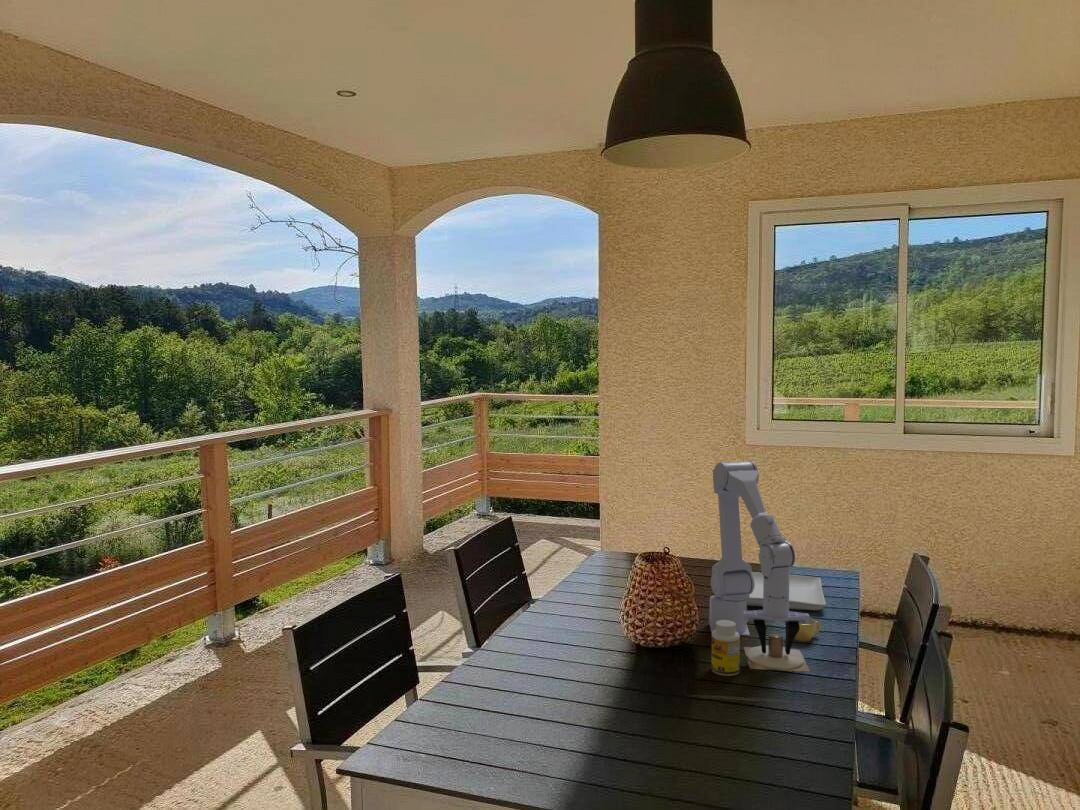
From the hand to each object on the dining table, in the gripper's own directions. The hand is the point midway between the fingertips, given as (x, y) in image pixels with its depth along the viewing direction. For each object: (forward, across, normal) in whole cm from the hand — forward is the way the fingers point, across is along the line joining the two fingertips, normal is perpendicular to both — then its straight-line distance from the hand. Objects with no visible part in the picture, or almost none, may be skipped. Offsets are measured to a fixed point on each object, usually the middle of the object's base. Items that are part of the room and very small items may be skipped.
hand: (775, 652), depth 178 cm
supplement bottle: (+2, -12, -8) cm, 15 cm away
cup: (+3, +9, +14) cm, 17 cm away
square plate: (+3, +7, +50) cm, 51 cm away
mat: (+2, 0, 0) cm, 2 cm away
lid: (+2, 0, 0) cm, 2 cm away
